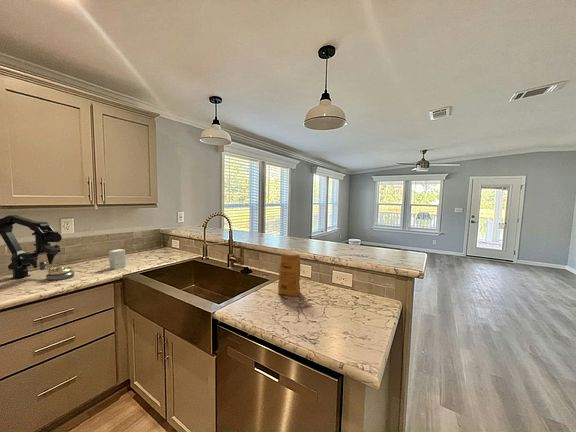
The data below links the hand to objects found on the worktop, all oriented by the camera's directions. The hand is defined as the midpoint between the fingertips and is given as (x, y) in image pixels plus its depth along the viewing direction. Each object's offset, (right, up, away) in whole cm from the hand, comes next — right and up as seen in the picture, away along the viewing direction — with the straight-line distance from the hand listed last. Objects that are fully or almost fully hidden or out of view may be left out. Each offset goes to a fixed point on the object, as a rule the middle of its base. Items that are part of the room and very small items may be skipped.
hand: (43, 266), depth 154 cm
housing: (+10, -7, +3) cm, 13 cm away
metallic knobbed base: (+7, -4, 0) cm, 9 cm away
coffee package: (+158, -11, -20) cm, 159 cm away
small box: (+30, -7, +25) cm, 40 cm away
